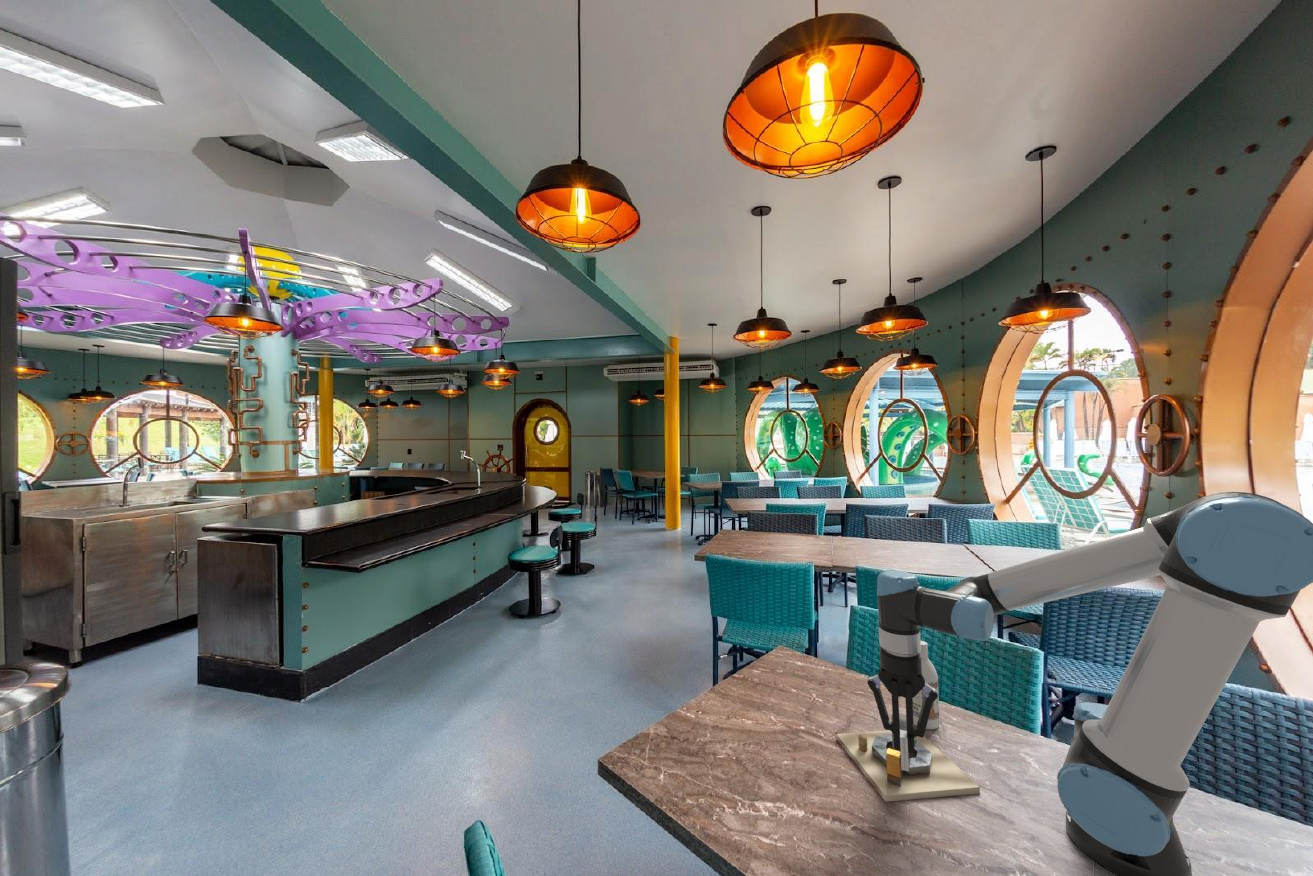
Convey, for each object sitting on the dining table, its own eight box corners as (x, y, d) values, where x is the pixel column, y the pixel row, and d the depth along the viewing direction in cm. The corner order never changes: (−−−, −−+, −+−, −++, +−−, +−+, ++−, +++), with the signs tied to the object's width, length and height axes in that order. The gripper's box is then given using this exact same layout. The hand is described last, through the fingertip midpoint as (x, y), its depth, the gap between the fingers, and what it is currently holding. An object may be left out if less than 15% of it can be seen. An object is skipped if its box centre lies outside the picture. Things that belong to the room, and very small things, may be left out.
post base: (979, 793, 93) (978, 742, 93) (885, 801, 91) (883, 750, 91) (915, 733, 113) (913, 691, 113) (836, 739, 111) (835, 696, 111)
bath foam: (934, 734, 112) (932, 650, 113) (904, 722, 117) (901, 642, 118) (943, 722, 117) (940, 642, 118) (913, 711, 122) (910, 635, 123)
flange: (879, 735, 110) (878, 711, 110) (933, 752, 103) (933, 727, 103) (864, 772, 97) (863, 745, 97) (925, 795, 91) (924, 766, 91)
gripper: (934, 647, 95) (940, 763, 94) (866, 637, 101) (870, 747, 100) (938, 662, 88) (943, 788, 88) (864, 651, 94) (869, 769, 94)
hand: (904, 766), depth 94 cm, fingers closed
